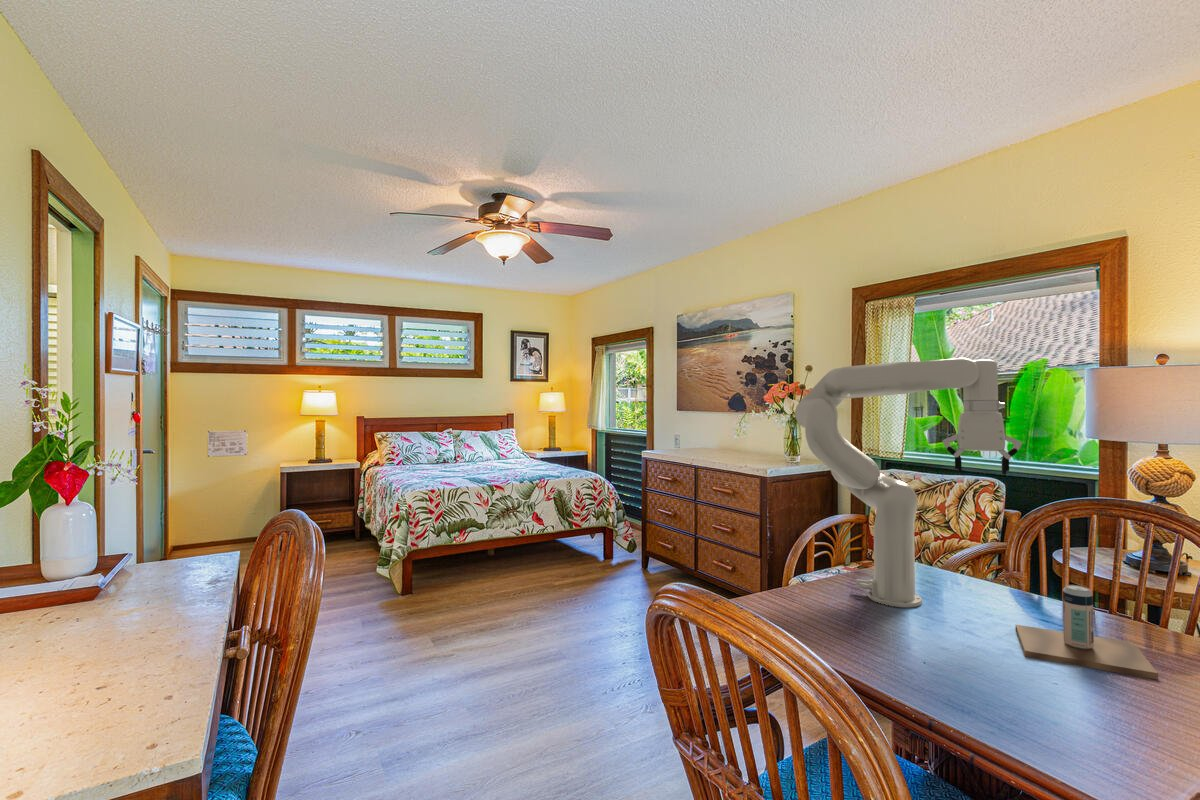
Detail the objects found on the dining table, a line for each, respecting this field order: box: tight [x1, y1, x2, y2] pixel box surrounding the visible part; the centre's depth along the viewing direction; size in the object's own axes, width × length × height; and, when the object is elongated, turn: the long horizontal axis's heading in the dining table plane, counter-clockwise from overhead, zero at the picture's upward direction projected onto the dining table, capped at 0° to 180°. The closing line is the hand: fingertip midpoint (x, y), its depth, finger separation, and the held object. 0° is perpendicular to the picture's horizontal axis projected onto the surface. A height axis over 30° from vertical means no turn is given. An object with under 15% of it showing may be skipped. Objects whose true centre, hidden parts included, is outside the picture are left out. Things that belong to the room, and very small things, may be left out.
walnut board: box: [1015, 624, 1159, 680], centre depth 119 cm, size 20×16×1 cm
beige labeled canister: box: [1062, 584, 1095, 650], centre depth 119 cm, size 5×5×12 cm
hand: (981, 473), depth 150 cm, fingers open, 9 cm apart
